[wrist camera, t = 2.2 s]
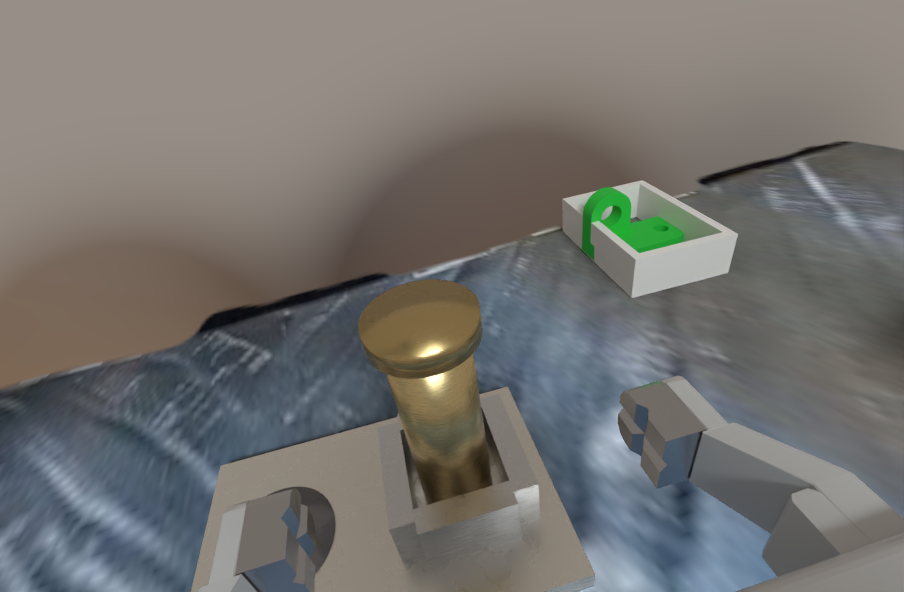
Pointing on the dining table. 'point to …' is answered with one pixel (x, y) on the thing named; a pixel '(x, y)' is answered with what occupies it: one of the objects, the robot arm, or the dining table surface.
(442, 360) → the brass flanged pin
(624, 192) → the parts tray
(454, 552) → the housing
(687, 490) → the dining table surface
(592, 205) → the mechanical part
